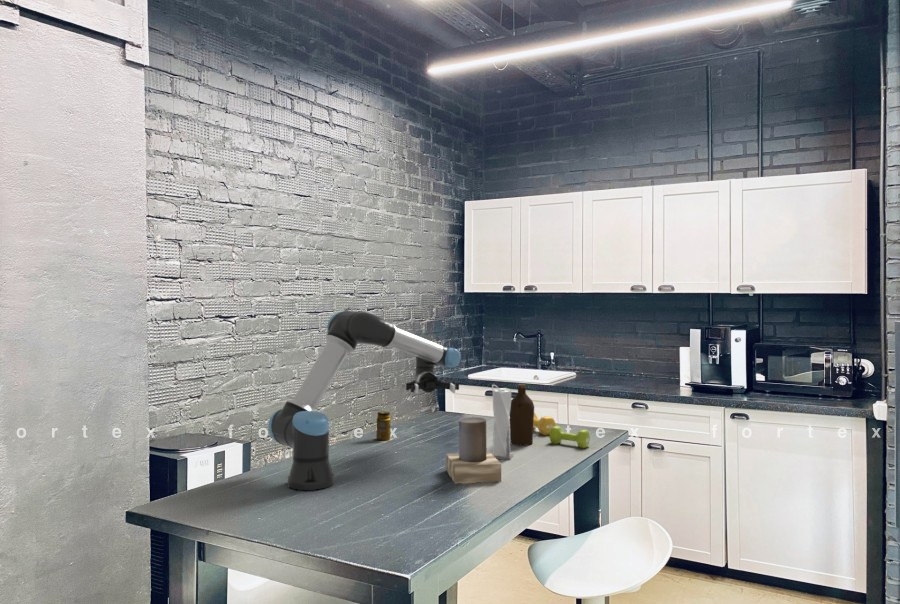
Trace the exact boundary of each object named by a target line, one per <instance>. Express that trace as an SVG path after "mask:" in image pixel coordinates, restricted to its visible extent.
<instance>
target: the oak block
mask: <svg viewBox="0 0 900 604" xmlns="http://www.w3.org/2000/svg"><path fill="white" fill-rule="evenodd" d="M445 456H446V463H445V464H446V465H445V467H446V469H445V470H446V472H447V474H448V475H449V478H452V479H451V480H452V482H453V481H454V482H453V483H454V484H455V485H457V483H462V484H475V483H476V482H481V483H496V482H495V481H500V482H502V462H500V461H499V459H496V458H495V457H494V456H493V454H492V453H491V452H490V451H487V452H486V458H487V459H486V460H484V461H479V462H466V461H462V460H461V459H459V453H446V455H445ZM476 484H477V483H476Z"/></svg>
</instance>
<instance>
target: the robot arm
mask: <svg viewBox="0 0 900 604" xmlns="http://www.w3.org/2000/svg"><path fill="white" fill-rule="evenodd" d="M326 328H327V331H326V332H327V334H326V335H325V339H326V343H325V345H324V347H323V349H322V350H321V352H320V353H319V355H318V357H317V358H316V361H315V362H314V363H313V365H312V366H311V369H310V370H309V372H308V374H307V376H306V377H305V379H304V380H303V382H302V384H301V385H300V387H299V388H298V391H297V392H296V394H295V395H294V397H293V398H292V399H289V400H286V402H285V403H284V405H283V407H282V408H280V409H278V410H276V411H275V412H273V413H272V415H271V416H270V417H269V420H268V424H267V427H268V433H269V436H270V437H271V439H272V440H274V441H275V442H277V443H278V444H280V445H282V446H286V447H289V448H291V449H292V464H291V468H290V471H289V474H288V477H287V487H288V486H289V487H291V488H293V489H292V490H295V489H298V490H297V491H303V490H310V491H317V490H316V489H319V490H322V489H321V488H324V489H326V487H327V488H329V486H330V487H332V486H333V485H334V483H335V475H334V473H333V470H332V467H331V463H330V459H329V458H330V456H329V453H330V452H329V451H330V450H329V448H330V445H329V443H330V436H329V435H330V432H329V431H330V423H329V417H328V416H327V415H326V414H324V413H323V412H320V411H315V410H317V407H318V406H319V404H320V402H321V400H322V398H323V397H324V395H325V393H326V392H327V390H328V388H329V386H330V385H331V383H332V381H333V379H334V378H335V376H336V374H337V372H338V370H339V369H340V367H341V365H342V363H343V362H344V361H345V358H346V357H347V356H348V354H351V353H354V352H355V349H356V348H357V346H358V344H360V345H361V344H362V345H363V344H365V345H375V346H379V347H381V348H387V347H390V348H392V349H396V350H398V351H401V352H404V353H406V354H409V355H412V356H415V374H414V379H413V380H412V381H409V382H406V384H405V390H406V391H410V393H414V392H415V393H416V394H419V390H422V391H423V392H424V393H433V392H435V391H436V390H449V391H450V392H451V393H453V394H455V393H456V391H458V390H460V383H459V382H456V381H455V380H453V381H451V380H446V379H445V380H443V381H442V380H441V379H439V378H438V377H437V376H436V374H435V366H440V367H445V368H446V367H447V368H455V367H457V366H458V365H459V364H460V362H461V357H462V356H461V353H460V351H459V350H458V349H456V348H453V347H446V346H444V345H441V344H440V343H437V342H434V341H431V340H430V339H427V338H424V337H422V336H419V335H416V334H414V333H411V332H410V331H406V330H404V329H402V328H400V327H397V326H396V325H395V324H394V323H393V322H391V321H389V320H386V319H384V318H383V317H381V316H378V315H375V314H373V313H371V312H366V311H352V310H344V311H338V312H335V314H333V315H332V316H331V317H330V318H329V320H328V322H327V326H326ZM331 485H332V486H331ZM289 487H288V488H289ZM291 488H290V489H291Z"/></svg>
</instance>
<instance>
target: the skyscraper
mask: <svg viewBox="0 0 900 604" xmlns="http://www.w3.org/2000/svg"><path fill="white" fill-rule="evenodd" d="M494 387H495V388H496V389H497V390H496V389H495V390H494ZM491 390H492V410H493V419H494V420H493V421H494V424H493V437H492V438H493V439H492V447H493V451H492V452H493V454H492V455H493V456H494V457H495V458H499V459H498V460H507V459H509V460H512V458H513V457H514V456H513V455H514V454H513V453H511V442H510V408H511V400H512V390H511V389H510V388H507V387H502V388H501V387H500V388H499V386H498V385H496V384H495V383H494V384H492V385H491Z"/></svg>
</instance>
